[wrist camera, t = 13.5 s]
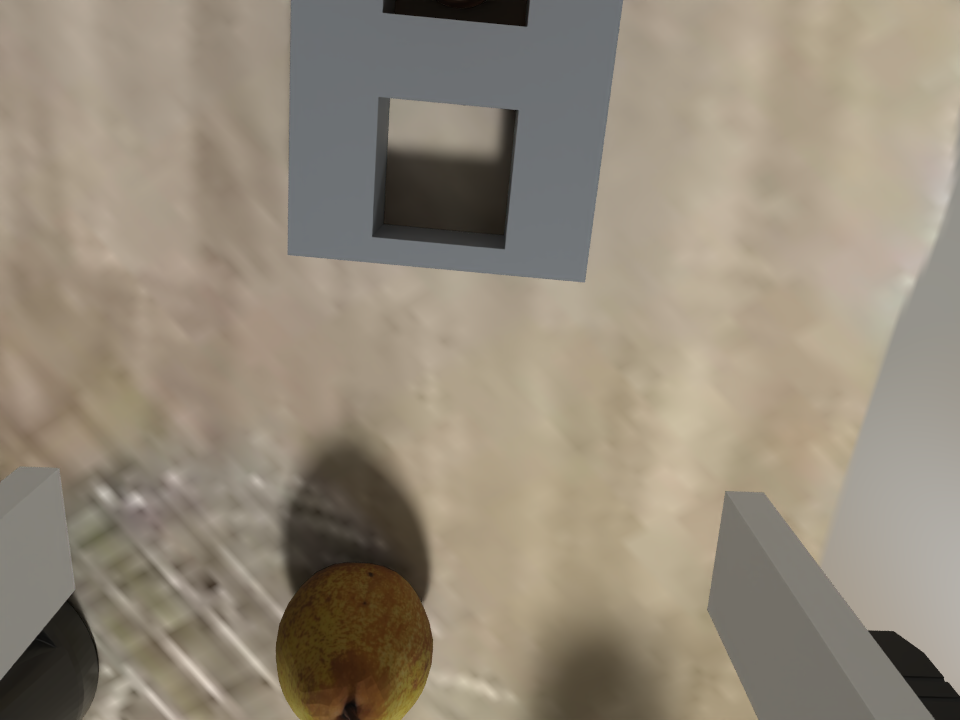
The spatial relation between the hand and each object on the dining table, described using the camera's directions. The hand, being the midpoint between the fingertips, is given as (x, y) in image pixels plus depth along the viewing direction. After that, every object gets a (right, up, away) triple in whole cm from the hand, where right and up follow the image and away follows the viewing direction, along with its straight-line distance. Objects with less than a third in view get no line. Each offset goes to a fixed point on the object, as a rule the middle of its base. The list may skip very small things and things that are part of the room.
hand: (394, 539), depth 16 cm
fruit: (-5, -11, +32) cm, 34 cm away
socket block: (+1, +18, +22) cm, 28 cm away
